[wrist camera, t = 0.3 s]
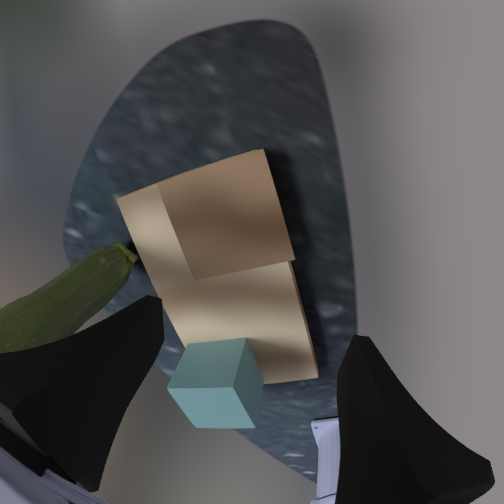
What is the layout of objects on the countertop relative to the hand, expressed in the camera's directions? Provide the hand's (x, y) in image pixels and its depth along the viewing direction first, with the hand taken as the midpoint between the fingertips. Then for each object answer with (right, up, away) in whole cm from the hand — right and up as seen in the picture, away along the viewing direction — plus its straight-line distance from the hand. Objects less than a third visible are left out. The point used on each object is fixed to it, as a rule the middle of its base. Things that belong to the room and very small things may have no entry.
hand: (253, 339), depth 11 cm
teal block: (-2, -6, +13) cm, 14 cm away
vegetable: (-10, +3, +11) cm, 16 cm away
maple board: (-2, 0, +11) cm, 11 cm away
